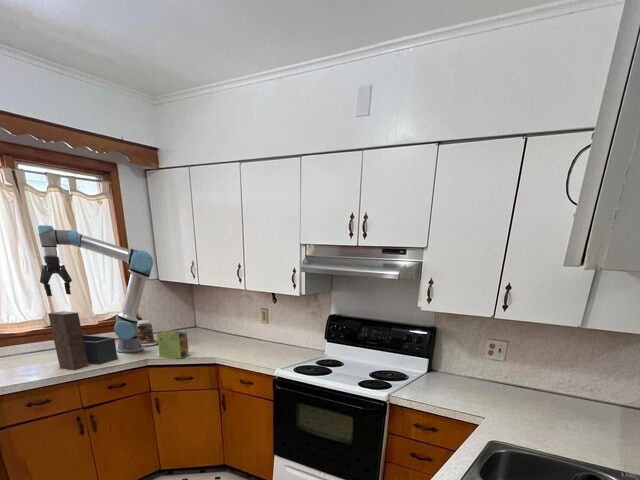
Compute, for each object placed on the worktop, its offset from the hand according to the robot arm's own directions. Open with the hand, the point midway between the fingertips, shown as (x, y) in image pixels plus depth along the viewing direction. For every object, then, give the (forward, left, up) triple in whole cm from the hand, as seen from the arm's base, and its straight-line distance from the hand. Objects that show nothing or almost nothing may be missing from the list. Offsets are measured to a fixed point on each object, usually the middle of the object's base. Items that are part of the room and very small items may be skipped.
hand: (59, 295), depth 248 cm
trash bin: (-7, +14, -37) cm, 40 cm away
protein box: (-50, +34, -37) cm, 71 cm away
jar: (-55, -20, -37) cm, 69 cm away
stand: (+6, +26, -37) cm, 45 cm away
